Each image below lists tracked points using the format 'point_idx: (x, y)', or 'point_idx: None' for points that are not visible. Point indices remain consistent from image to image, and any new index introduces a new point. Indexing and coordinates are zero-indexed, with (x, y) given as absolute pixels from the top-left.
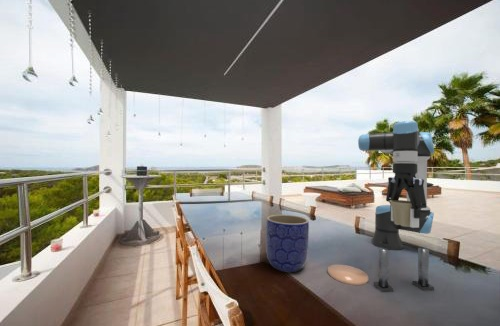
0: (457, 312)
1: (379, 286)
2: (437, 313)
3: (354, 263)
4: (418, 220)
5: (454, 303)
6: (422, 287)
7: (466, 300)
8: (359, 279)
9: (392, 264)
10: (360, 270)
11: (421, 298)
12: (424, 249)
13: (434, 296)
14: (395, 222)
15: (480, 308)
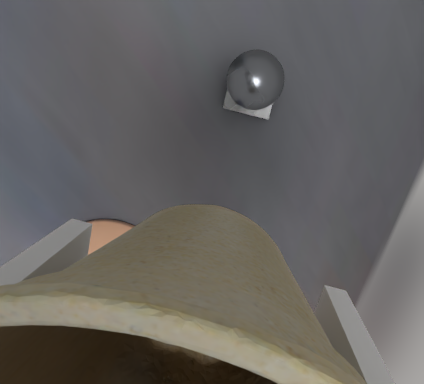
0: (386, 150)
1: None
2: (362, 216)
3: (31, 176)
4: (369, 347)
5: (357, 98)
6: (265, 118)
7: (366, 25)
8: None
9: (64, 4)
10: (102, 226)
11: (296, 178)
12: (263, 84)
13: (305, 119)
14: (165, 361)
15: (412, 39)
